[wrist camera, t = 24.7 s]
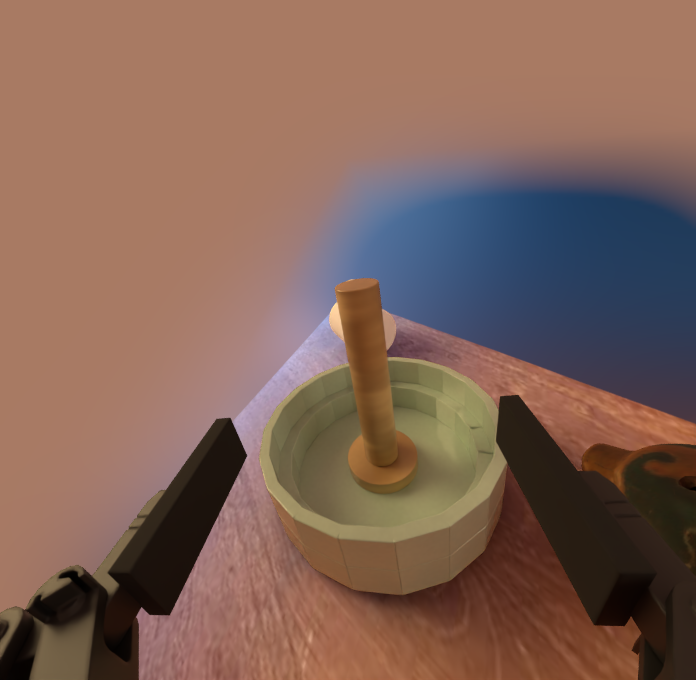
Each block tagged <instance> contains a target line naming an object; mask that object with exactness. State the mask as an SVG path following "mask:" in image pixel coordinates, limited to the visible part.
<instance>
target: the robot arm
mask: <svg viewBox="0 0 696 680" xmlns="http://www.w3.org/2000/svg"><path fill="white" fill-rule="evenodd" d="M496 443H497V444H498V446H499V448H500V450H501V452H502V454H503V456H504V458H505V459H506V461H507V463H508V465H509V467H510V469H511V471H512V473H513V474H514V476H515V478H516V480H517V482H518V484H519V486H520V488H521V489H522V491H523V493H524V495H525V497H526V499H527V501H528V503H529V504H530V506H531V508H532V510H533V512H534V514H535V516H536V518H537V519H538V521H539V523H540V525H541V527H542V529H543V531H544V533H545V534H546V536H547V538H548V540H549V542H550V544H551V546H552V548H553V549H554V551H555V553H556V555H557V557H558V559H559V561H560V562H561V564H562V566H563V568H564V570H565V572H566V574H567V576H568V577H569V579H570V581H571V583H572V585H573V587H574V589H575V591H576V592H577V594H578V596H579V598H580V600H581V602H582V604H583V606H584V607H585V609H586V611H587V613H588V615H589V617H590V619H591V621H592V622H593V624H594V625H603V626H625V625H626V623H627V622H628V620H629V618H630V617H632V618H633V620H634V621H635V623H636V625H637V626H638V628H639V629H640V631H641V632H642V633H641V635H640V636H639V638H638V639H637V641H636V642H635V644H634V646H633V649H632V651H633V652H634V653H636V654H637V655H638V653H639V670H638V680H696V576H695V575H694V574H693V573H692V572H691V571H690V569H689V568H688V567H687V566H686V565H685V564H684V563H683V561H682V560H681V559H680V558H679V557H678V556H677V555H676V553H675V552H674V551H673V550H672V549H671V548H670V547H669V546H668V544H667V543H666V542H665V541H664V540H663V539H662V538H661V536H660V535H659V534H658V533H657V532H656V531H655V530H654V528H653V527H652V526H651V525H650V524H649V523H648V522H647V520H646V519H645V518H644V517H642V516H641V514H640V512H639V511H638V510H637V509H636V508H635V507H634V506H633V504H632V503H629V500H628V499H627V498H626V496H625V495H624V494H623V493H622V492H621V491H620V490H619V489H618V487H617V486H616V485H615V484H614V483H612V482H611V481H610V480H608V479H607V478H606V477H604V476H603V475H601V474H600V473H599V472H597V471H577V470H576V468H575V467H574V466H573V464H572V463H571V462H570V461H569V459H568V458H567V457H566V455H565V454H564V453H563V452H562V450H561V449H560V448H559V447H558V445H557V444H556V443H555V441H554V440H553V439H552V438H551V436H550V435H549V434H548V432H547V431H546V430H545V429H544V427H543V426H542V425H541V423H540V422H539V421H538V420H537V418H536V417H535V416H534V415H533V413H532V412H531V411H530V409H529V408H528V407H527V406H526V404H525V403H524V402H523V400H522V399H521V398H520V397H519V395H512V396H500V403H499V413H498V423H497V433H496ZM246 457H247V454H246V452H245V450H244V447H243V445H242V443H241V441H240V438H239V436H238V434H237V432H236V429H235V427H234V425H233V423H232V420H231V418H222V419H216V421H215V422H214V423H213V425H212V426H211V428H210V429H209V430H208V432H207V433H206V435H205V436H204V437H203V439H202V440H201V442H200V443H199V444H198V446H197V447H196V449H195V450H194V452H193V453H192V454H191V456H190V457H189V459H188V460H187V461H186V463H185V464H184V466H183V467H182V468H181V470H180V471H179V472H178V474H177V476H176V477H175V478H174V480H173V481H172V482H171V484H170V485H169V487H168V488H167V489H166V490H161V491H159V492H158V493H157V494H156V495H155V496H154V497H152V498H151V499H150V500H149V501H148V502H147V503H146V505H145V506H144V507H143V509H142V510H141V511H140V513H139V514H138V515H137V518H136V519H134V521H133V522H132V523H131V525H130V526H129V529H128V530H126V532H125V533H124V534H123V536H122V537H121V538H120V540H119V541H118V542H117V544H116V545H115V546H114V548H113V549H112V550H111V552H110V553H109V554H108V556H107V557H106V559H105V560H104V561H103V562H102V564H101V565H100V566H99V568H98V569H97V570H96V572H95V573H94V574H93V575H92V576H91V575H90V574H89V573H88V572H87V571H86V570H85V569H84V568H83V567H81V566H79V565H75V566H70V567H68V568H66V569H63V570H62V571H60V572H58V573H57V574H55V575H54V576H53V577H51V578H50V579H49V580H48V581H47V582H45V583H44V584H43V585H42V586H41V587H40V588H39V589H38V590H37V592H36V593H35V594H34V596H33V597H32V598H31V599H30V601H29V603H28V605H27V607H26V609H25V610H24V609H22V608H20V607H12V608H9V609H6V610H4V611H3V612H1V613H0V680H139V624H138V620H137V618H136V616H137V614H138V612H139V610H140V609H141V607H142V608H143V609H144V610H145V611H146V612H147V613H148V614H149V615H170V614H171V612H172V610H173V608H174V606H175V603H176V601H177V599H178V597H179V595H180V593H181V591H182V589H183V587H184V585H185V583H186V581H187V579H188V577H189V575H190V573H191V571H192V568H193V566H194V564H195V562H196V560H197V558H198V556H199V554H200V552H201V550H202V548H203V546H204V544H205V542H206V540H207V538H208V536H209V533H210V531H211V529H212V527H213V525H214V523H215V521H216V519H217V517H218V515H219V513H220V511H221V509H222V507H223V505H224V503H225V501H226V498H227V496H228V494H229V492H230V490H231V488H232V486H233V484H234V482H235V480H236V478H237V476H238V474H239V472H240V470H241V468H242V466H243V463H244V461H245V459H246Z"/></svg>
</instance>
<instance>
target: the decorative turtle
mask: <svg viewBox="0 0 696 680" xmlns="http://www.w3.org/2000/svg"><path fill="white" fill-rule="evenodd" d="M582 470H583V471H597V472H599V473H600V474H601V475H603V476H604V477H606V478H607V479H608V480H610V481H611V482H612V483H614V484H615V485H616V486H617V487H618V489H619V490H620V491H621V492H622V493H623V494H624V495H625V496H626V498H627V499H628V500H629V503H632V504H633V506H634V507H635V508H636V509H637V510H638V511H639V512H640V514H641V516H642V517H644V518H645V519H646V520H647V522H648V523H649V524H650V525H651V526H652V527H653V528H654V530H655V531H656V532H657V533H658V534H659V535H660V536H661V538H662V539H663V540H664V541H665V542H666V543H667V544H668V546H669V547H670V548H671V549H672V550H673V551H674V552H675V553H676V555H677V556H678V557H679V558H680V559H681V560H682V561H683V563H684V564H685V565H686V566H687V567H688V568H689V569H690V571H691V572H692V573H693V574H694V575H695V576H696V445H690V444H659V445H653V446H648V447H645V448H642V449H639V450H636V451H629V450H624V449H621V448H617V447H614V446H610V445H606V444H594V445H593V446H591V447H590V448H589V449H588V450H587V451H586V452H585V453H584V455H583V457H582Z"/></svg>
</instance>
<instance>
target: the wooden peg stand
mask: <svg viewBox="0 0 696 680" xmlns="http://www.w3.org/2000/svg"><path fill="white" fill-rule="evenodd" d="M335 293H336V298H337V303H338V309H339V314H340V319H341V325H342V330H343V336H344V341H345V346H346V352H347V357H348V362H349V368H350V373H351V379H352V384H353V389H354V395H355V400H356V405H357V411H358V416H359V422H360V427H361V432H362V435H360V436H359V437H358V438H357V439H356V440H355V441H354V442H353V443H352V445H351V447H350V449H349V452H348V463H349V468H350V472H351V475H352V477H353V479H354V480H355V481H356V483H357V484H358V485H360V486H361V487H362V488H364V489H365V490H368V491H370V492H373V493H378V494H388V493H394V492H397V491H399V490H401V489H403V488H405V487H406V486H408V485H409V484H410V483H411V481H412V480H413V479H414V477H415V475H416V473H417V470H418V455H417V449H416V447H415V444H414V443H413V441H412V440H411V439H410V438H409V437H408V436H407V435H405V434H404V433H402V432H400V431H397V430H396V428H395V419H394V411H393V402H392V393H391V384H390V376H389V367H388V358H387V349H386V341H385V332H384V323H383V314H382V306H381V297H380V288H379V282H378V280H376V279H371V278H362V279H355V280H350V281H346V282H343V283H341V284H339V285H337V286H336V287H335Z"/></svg>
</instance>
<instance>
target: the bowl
mask: <svg viewBox="0 0 696 680" xmlns="http://www.w3.org/2000/svg"><path fill="white" fill-rule="evenodd" d="M387 358H388V367H389V376H390V384H391V393H392V402H393V411H394V419H395V428H396V430H397V431H400V432H402V433H404V434H405V435H407V436H408V437H409V438H410V439H411V440H412V441H413V443H414V444H415V447H416V449H417V455H418V470H417V473H416V475H415V477H414V479H413V480H412V481H411V483H410V484H409V485H408V486H406V487H405V488H403V489H401V490H399V491H397V492H394V493H388V494H378V493H373V492H370V491H368V490H365V489H364V488H362V487H361V486H360V485H358V484H357V483H356V481H355V480H354V479H353V477H352V475H351V472H350V468H349V463H348V452H349V449H350V447H351V445H352V443H353V442H354V441H355V440H356V439H357V438H358V437H359V436H360V435H362V432H361V427H360V422H359V416H358V411H357V405H356V400H355V395H354V389H353V384H352V379H351V373H350V368H349V363H346V364H342V365H339V366H337V367H334V368H332V369H329V370H327V371H324V372H322V373H319V374H318V375H316V376H314V377H312V378H311V379H309V380H308V381H306V382H305V383H303V384H302V385H300V386H298V387H297V388H296V389H294V390H293V391H292V392H291V393H290V394H289V395H288V396H287V397H286V398H285V399H284V400H283V401H282V402H281V403H280V404H279V405H278V406H277V407H276V409H275V411H274V413H273V415H272V416H271V418H270V420H269V422H268V423H267V425H266V427H265V429H264V432H263V438H262V444H261V450H260V456H259V461H260V465H261V468H262V472H263V476H264V479H265V483H266V486H267V490H268V492H269V494H270V497H271V499H272V501H273V504H274V506H275V508H276V510H277V513H278V515H279V517H280V520H281V522H282V524H283V526H284V529H285V531H286V533H287V536H288V538H289V539H290V540H291V542H292V543H293V544H294V545H295V547H296V548H297V549H298V550H299V551H300V553H301V554H302V555H303V556H304V558H305V559H306V560H307V561H308V563H309V564H310V565H311V566H312V568H314V569H315V570H317V571H319V572H321V573H323V574H325V575H326V576H328V577H330V578H332V579H334V580H336V581H337V582H339V583H341V584H343V585H345V586H347V587H348V588H350V589H352V590H357V591H367V592H376V593H386V594H395V595H405V594H409V593H412V592H415V591H418V590H422V589H425V588H428V587H432V586H435V585H438V584H441V583H445V582H448V581H450V580H452V579H453V578H454V577H455V576H456V575H457V574H458V573H460V572H461V571H462V570H463V569H464V568H465V567H467V566H468V565H469V564H470V563H471V562H472V561H474V560H475V559H476V558H477V557H478V556H479V555H480V554H482V553H483V552H484V550H485V549H486V547H487V544H488V542H489V540H490V538H491V536H492V533H493V531H494V529H495V527H496V525H497V522H498V520H499V518H500V516H501V511H502V503H503V495H504V487H505V479H506V472H507V464H508V463H507V461H506V459H505V458H504V456H503V454H502V452H501V450H500V448H499V446H498V444H497V443H496V433H497V423H498V413H499V410H498V408H497V406H496V404H495V402H494V401H493V399H492V398H491V397H490V396H489V395H488V394H487V393H486V392H485V391H483V390H482V389H481V388H480V387H479V386H478V385H477V384H476V383H475V382H474V381H473V380H471V379H469V378H467V377H465V376H464V375H462V374H460V373H458V372H456V371H454V370H452V369H450V368H448V367H446V366H442V365H439V364H435V363H432V362H428V361H424V360H420V359H410V358H400V357H387Z"/></svg>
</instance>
